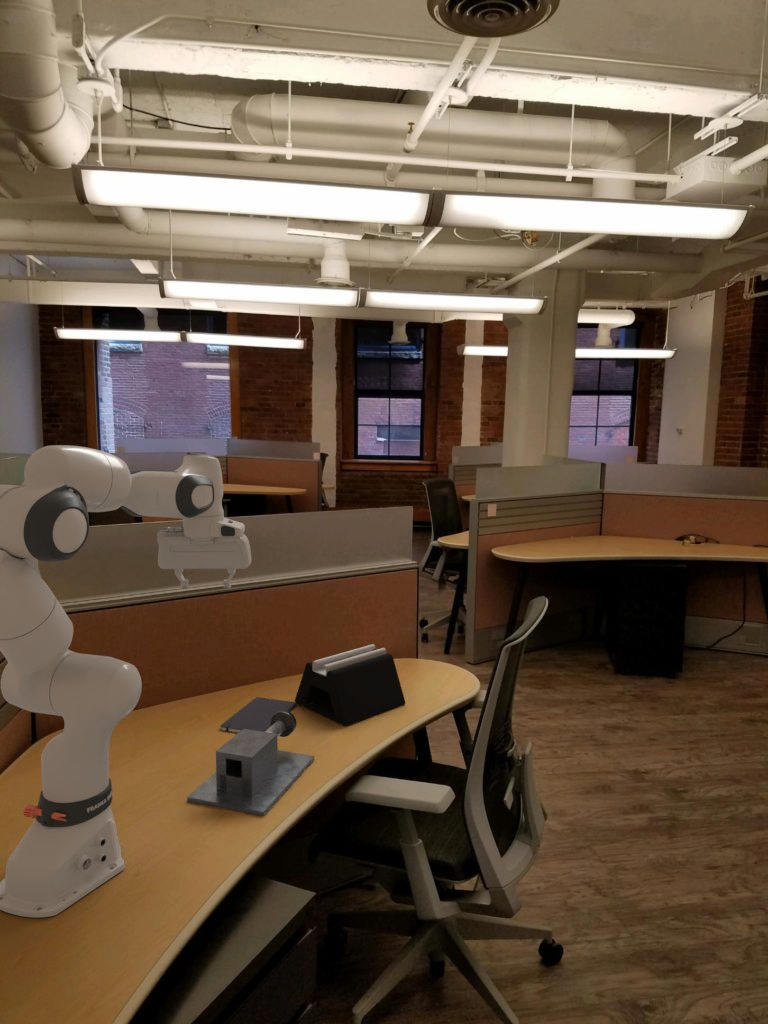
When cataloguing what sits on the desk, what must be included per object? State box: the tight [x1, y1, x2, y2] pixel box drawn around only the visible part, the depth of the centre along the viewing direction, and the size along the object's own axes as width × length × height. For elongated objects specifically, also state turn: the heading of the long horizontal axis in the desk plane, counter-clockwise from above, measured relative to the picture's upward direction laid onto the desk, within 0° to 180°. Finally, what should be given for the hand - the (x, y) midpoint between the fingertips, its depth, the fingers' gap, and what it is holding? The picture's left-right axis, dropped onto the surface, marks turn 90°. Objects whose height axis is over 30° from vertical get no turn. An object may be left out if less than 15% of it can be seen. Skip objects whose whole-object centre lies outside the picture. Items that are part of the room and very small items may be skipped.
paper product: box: [220, 697, 298, 734], centre depth 194 cm, size 13×2×21 cm
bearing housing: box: [186, 729, 315, 817], centre depth 159 cm, size 26×18×10 cm
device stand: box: [294, 643, 406, 728], centre depth 203 cm, size 22×22×15 cm
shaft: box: [241, 710, 297, 762], centre depth 165 cm, size 20×6×6 cm, turn 162°
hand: (206, 587), depth 159 cm, fingers open, 8 cm apart
